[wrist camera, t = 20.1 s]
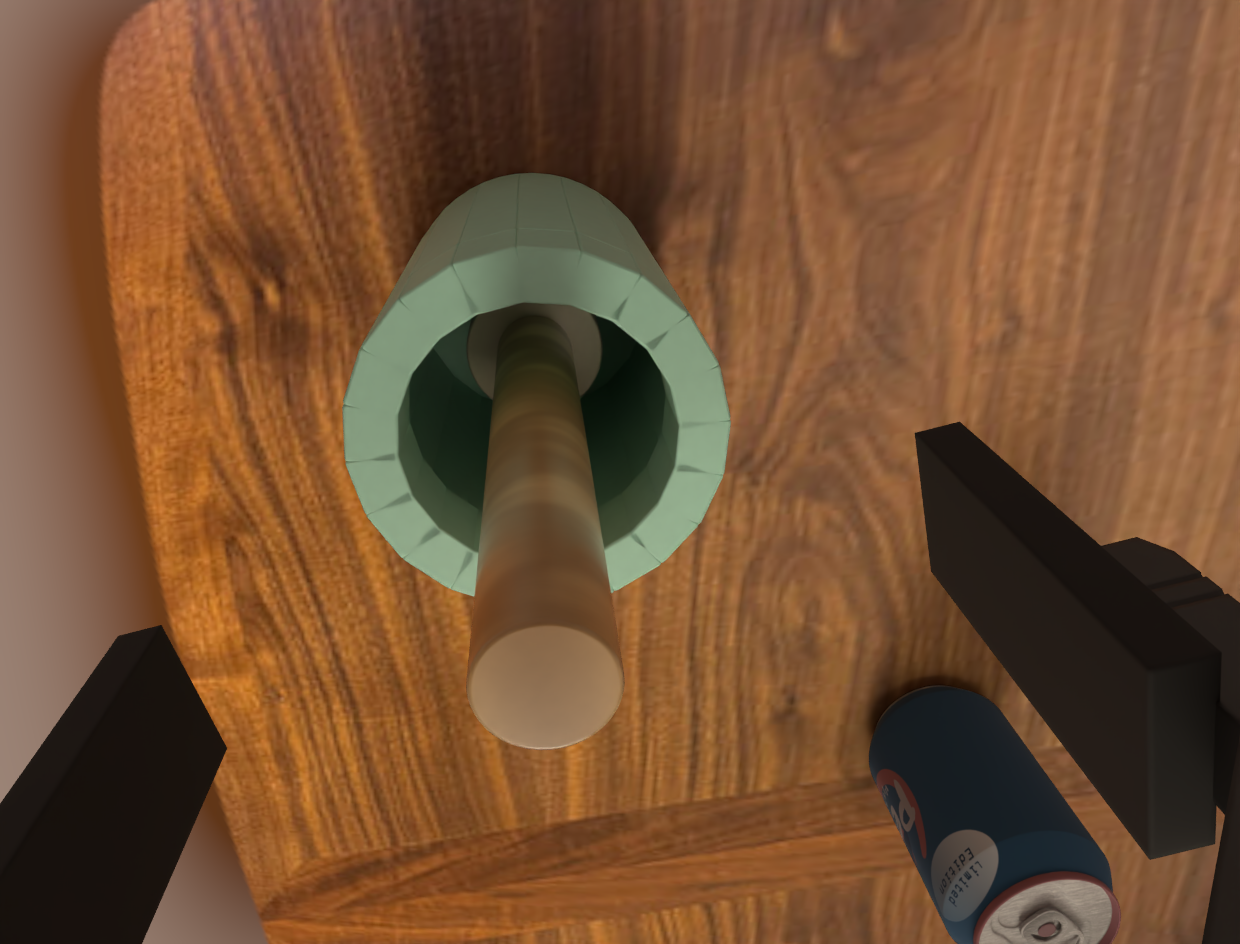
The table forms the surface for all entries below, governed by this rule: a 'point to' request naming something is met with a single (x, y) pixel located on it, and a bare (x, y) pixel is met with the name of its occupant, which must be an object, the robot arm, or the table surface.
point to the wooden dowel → (540, 536)
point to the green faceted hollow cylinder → (461, 412)
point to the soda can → (988, 825)
